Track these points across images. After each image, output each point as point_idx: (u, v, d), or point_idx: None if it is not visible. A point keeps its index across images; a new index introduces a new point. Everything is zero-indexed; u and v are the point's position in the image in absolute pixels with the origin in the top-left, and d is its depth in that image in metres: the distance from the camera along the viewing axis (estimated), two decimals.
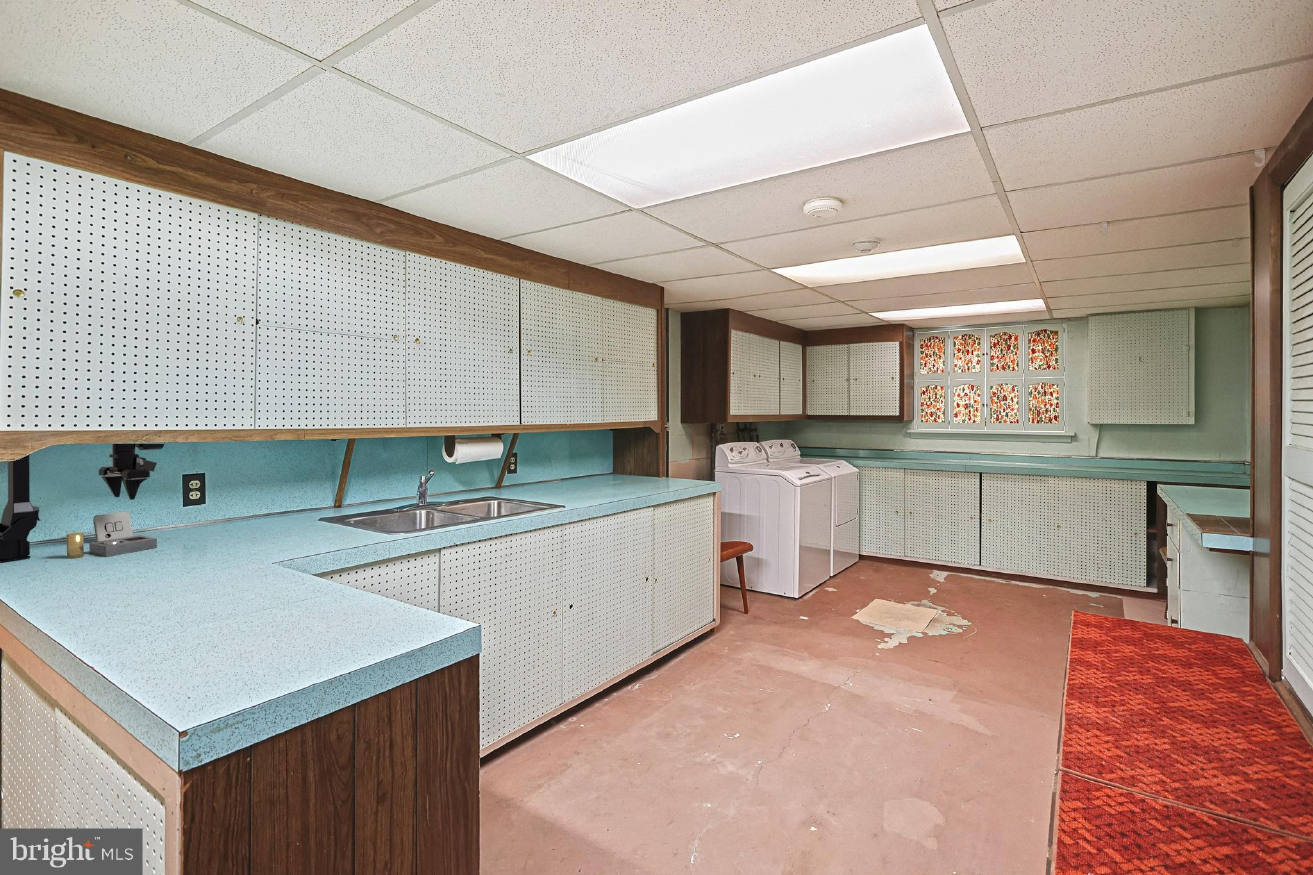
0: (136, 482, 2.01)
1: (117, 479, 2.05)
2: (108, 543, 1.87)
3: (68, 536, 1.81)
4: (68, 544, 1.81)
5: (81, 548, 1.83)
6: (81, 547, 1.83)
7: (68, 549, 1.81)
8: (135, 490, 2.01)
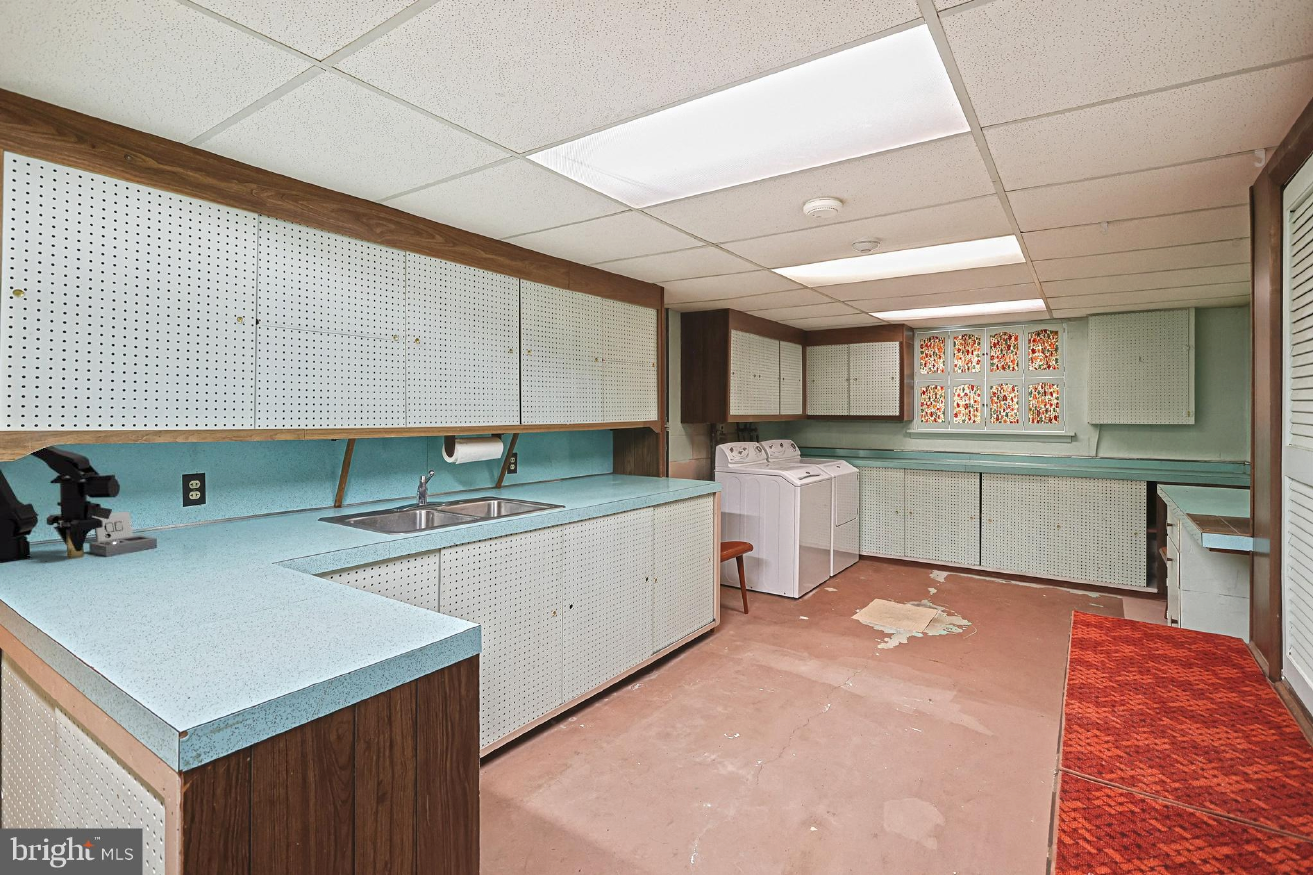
0: (82, 532, 1.82)
1: None
2: (108, 543, 1.87)
3: (68, 536, 1.81)
4: (68, 544, 1.81)
5: None
6: None
7: (68, 549, 1.81)
8: (81, 541, 1.82)
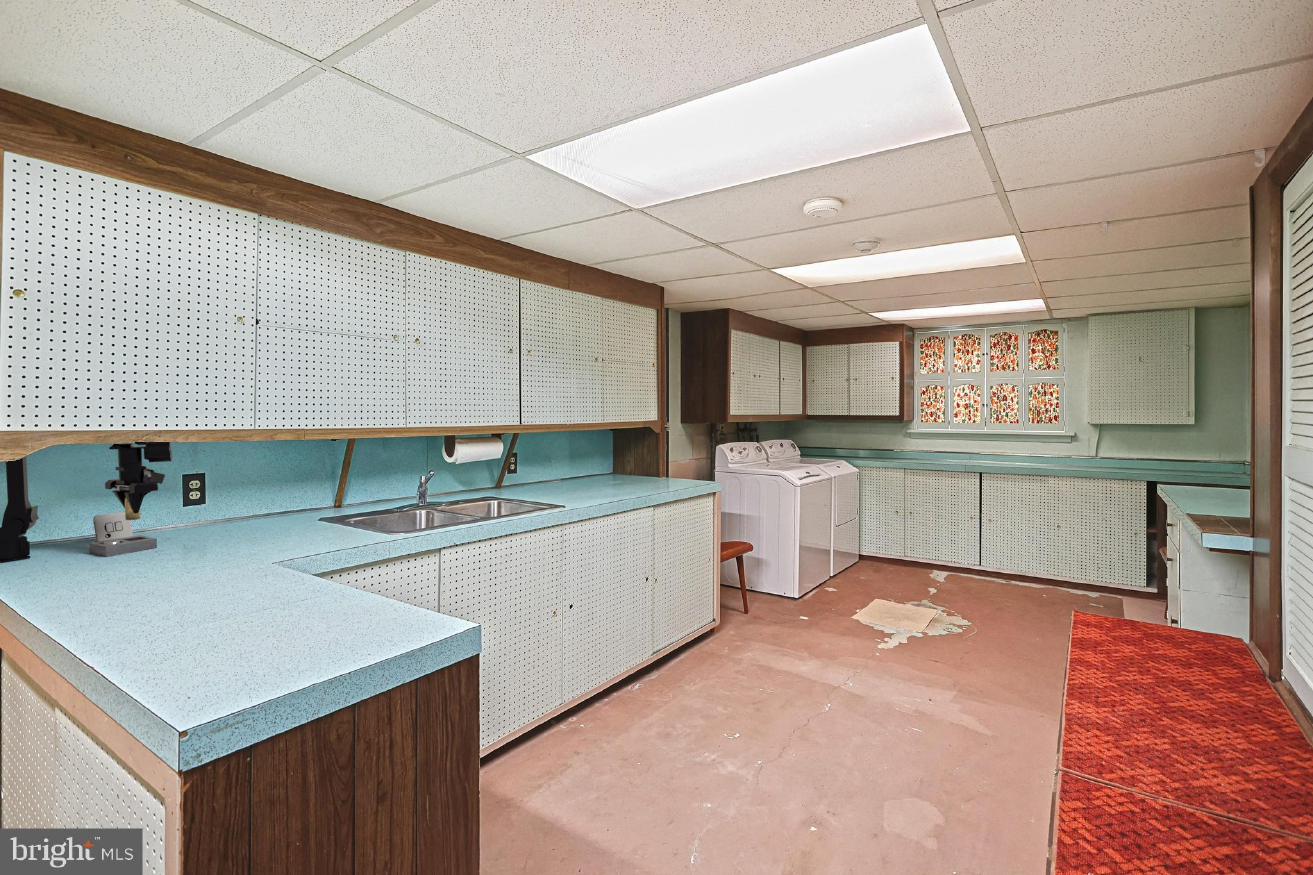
0: (139, 495, 1.92)
1: None
2: (108, 543, 1.87)
3: (126, 499, 1.91)
4: (126, 506, 1.92)
5: None
6: None
7: (126, 511, 1.92)
8: (139, 503, 1.92)
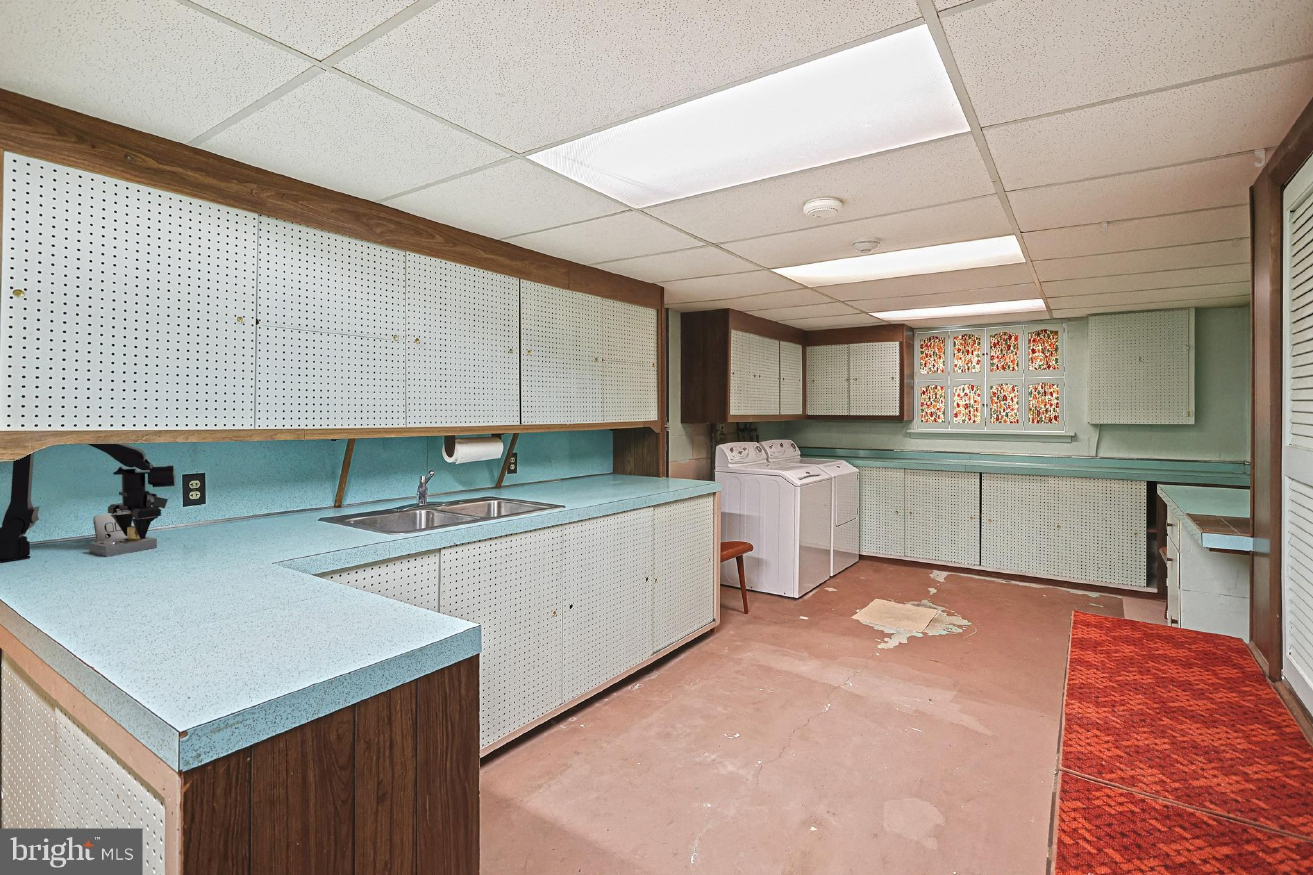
0: (146, 521, 1.92)
1: (127, 517, 1.96)
2: (108, 543, 1.87)
3: (129, 528, 1.92)
4: (129, 536, 1.93)
5: None
6: (140, 539, 1.94)
7: None
8: (145, 529, 1.92)
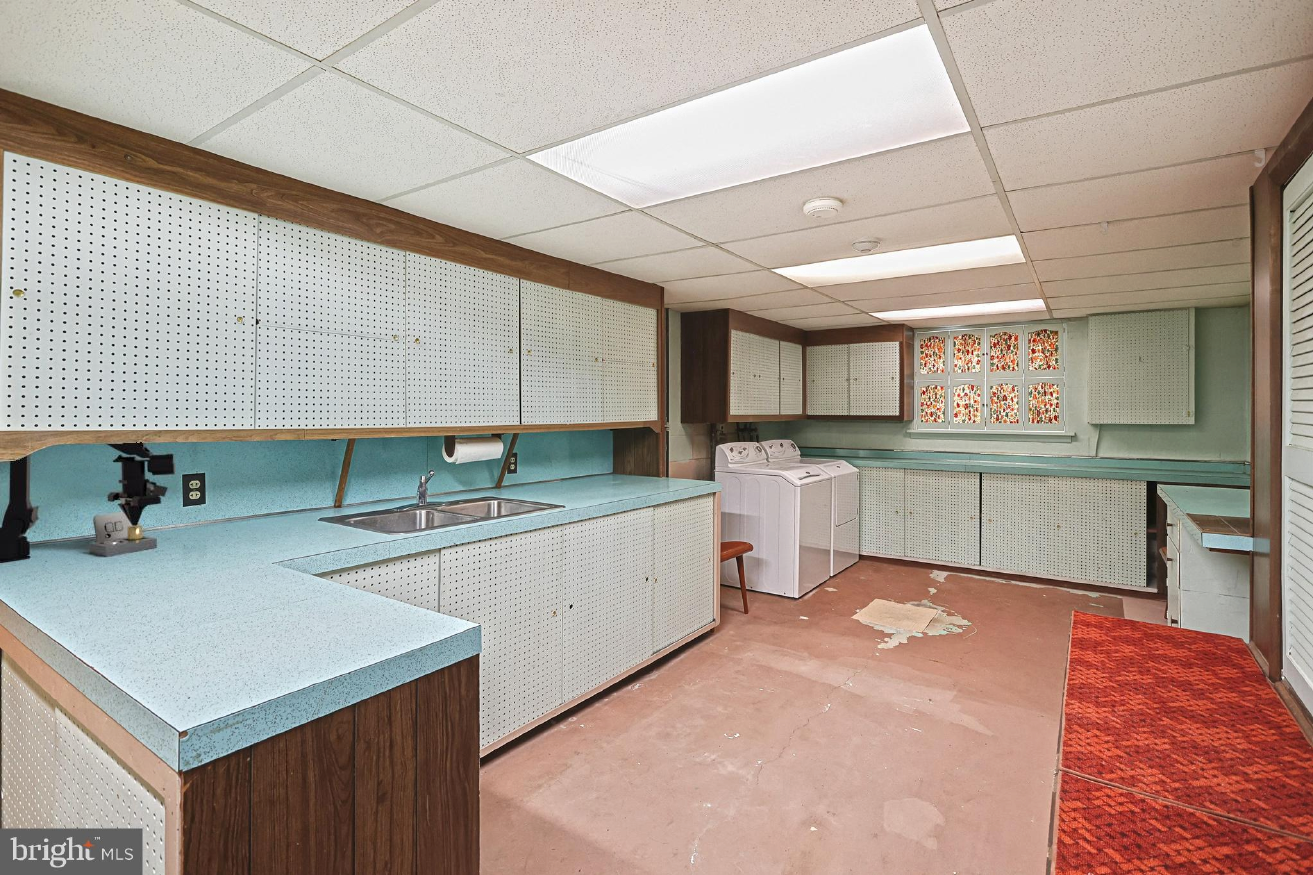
0: (139, 507, 1.94)
1: None
2: (108, 543, 1.87)
3: (129, 528, 1.92)
4: (129, 536, 1.93)
5: None
6: (140, 539, 1.94)
7: None
8: (138, 516, 1.94)
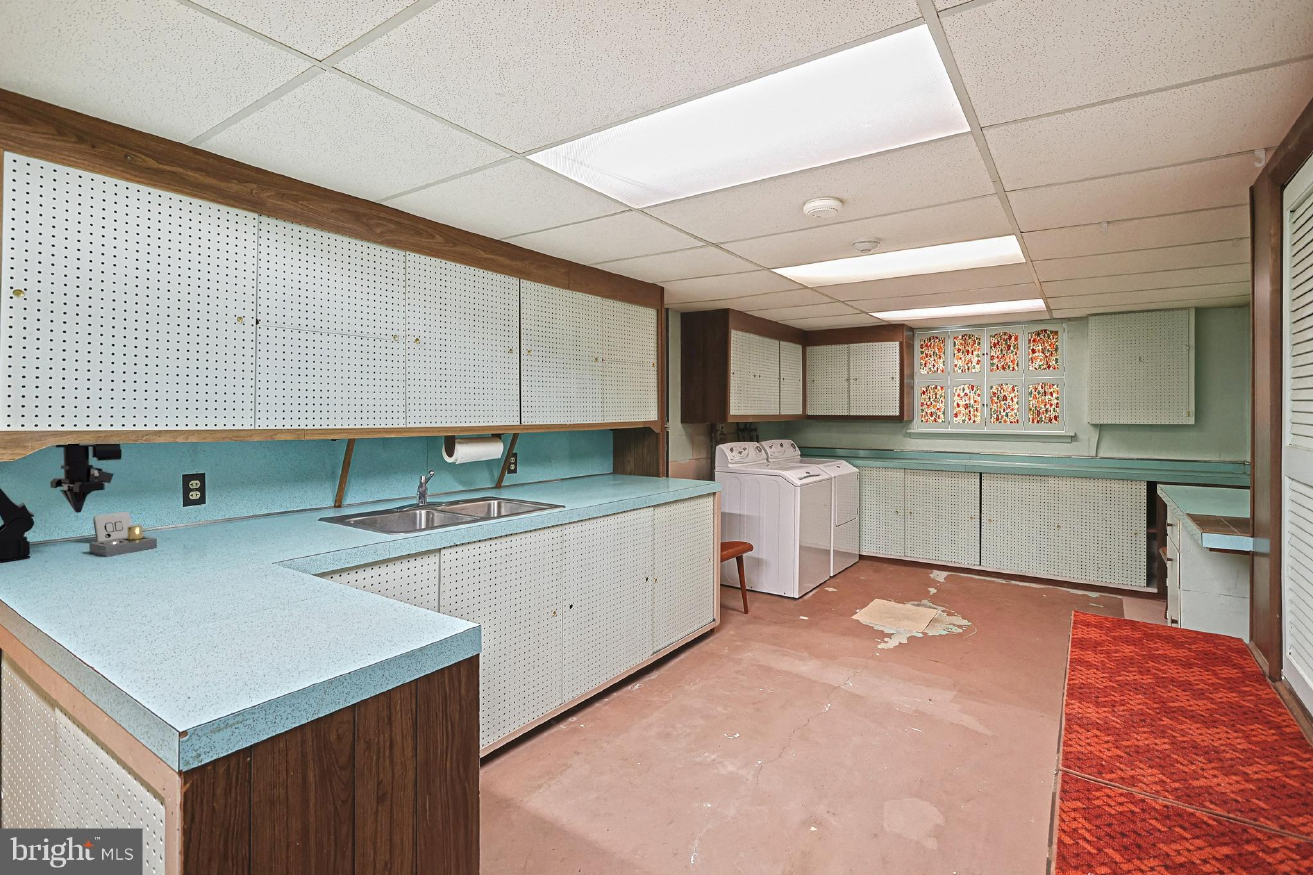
0: (82, 494, 1.89)
1: None
2: (108, 543, 1.87)
3: (129, 528, 1.92)
4: (129, 536, 1.93)
5: None
6: (140, 539, 1.94)
7: None
8: (81, 502, 1.89)
